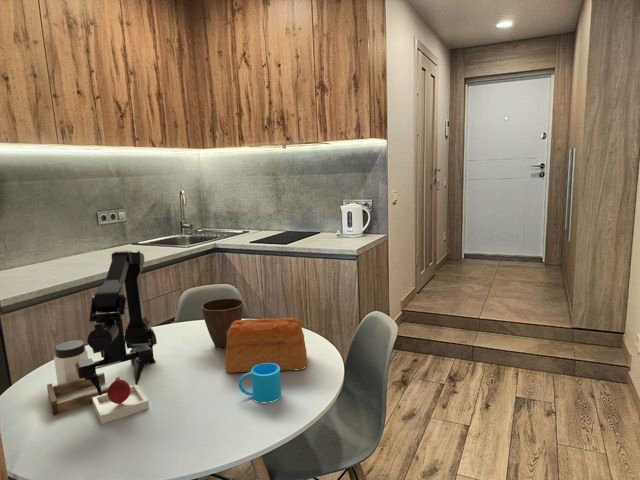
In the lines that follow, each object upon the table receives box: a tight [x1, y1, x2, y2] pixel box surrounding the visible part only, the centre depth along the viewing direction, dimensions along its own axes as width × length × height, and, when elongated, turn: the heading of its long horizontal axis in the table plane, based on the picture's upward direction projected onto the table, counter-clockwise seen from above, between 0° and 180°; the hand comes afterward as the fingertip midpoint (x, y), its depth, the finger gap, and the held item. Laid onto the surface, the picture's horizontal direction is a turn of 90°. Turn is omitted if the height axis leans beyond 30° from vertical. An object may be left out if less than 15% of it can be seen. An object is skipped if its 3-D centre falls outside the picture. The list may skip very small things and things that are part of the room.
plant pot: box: [201, 298, 244, 350], centre depth 160 cm, size 15×15×16 cm
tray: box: [92, 384, 150, 425], centre depth 121 cm, size 12×12×2 cm
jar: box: [53, 339, 89, 385], centre depth 136 cm, size 9×8×12 cm
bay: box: [46, 372, 109, 416], centre depth 126 cm, size 15×12×4 cm
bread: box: [224, 317, 308, 373], centre depth 144 cm, size 14×27×15 cm, turn 92°
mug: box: [237, 363, 282, 403], centre depth 124 cm, size 12×8×8 cm
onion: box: [108, 376, 131, 404], centre depth 120 cm, size 6×6×8 cm
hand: (118, 389), depth 120 cm, fingers open, 9 cm apart
